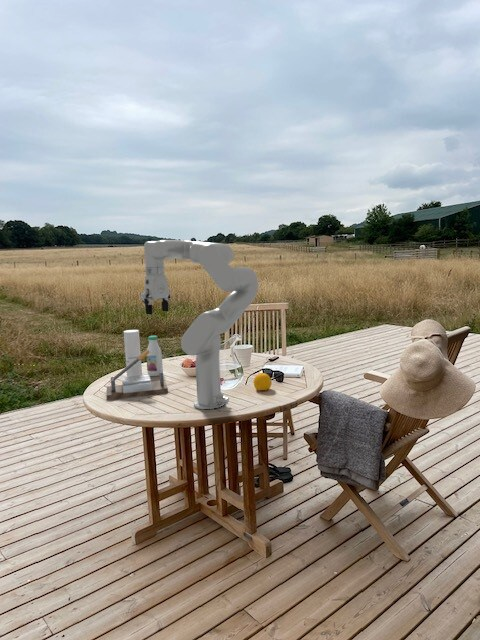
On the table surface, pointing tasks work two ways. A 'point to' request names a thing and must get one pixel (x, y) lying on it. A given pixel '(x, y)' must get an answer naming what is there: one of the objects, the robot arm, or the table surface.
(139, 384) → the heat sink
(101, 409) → the table surface
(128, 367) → the lever
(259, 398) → the table surface
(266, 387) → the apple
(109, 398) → the mounting board
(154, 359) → the milk bottle
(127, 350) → the cylindrical container
